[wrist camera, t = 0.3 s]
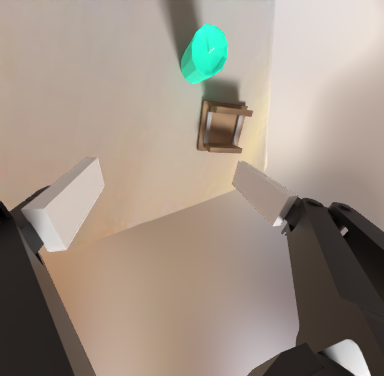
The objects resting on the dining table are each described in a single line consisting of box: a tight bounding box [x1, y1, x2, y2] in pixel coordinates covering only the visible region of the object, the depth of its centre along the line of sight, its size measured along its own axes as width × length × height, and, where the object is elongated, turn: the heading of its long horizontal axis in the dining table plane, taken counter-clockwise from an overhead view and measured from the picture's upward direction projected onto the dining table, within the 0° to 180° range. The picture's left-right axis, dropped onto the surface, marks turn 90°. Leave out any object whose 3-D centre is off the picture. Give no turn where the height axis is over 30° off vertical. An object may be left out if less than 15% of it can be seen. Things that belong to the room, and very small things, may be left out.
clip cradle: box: [197, 101, 253, 153], centre depth 36 cm, size 12×12×6 cm
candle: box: [181, 24, 228, 83], centre depth 25 cm, size 6×6×12 cm
